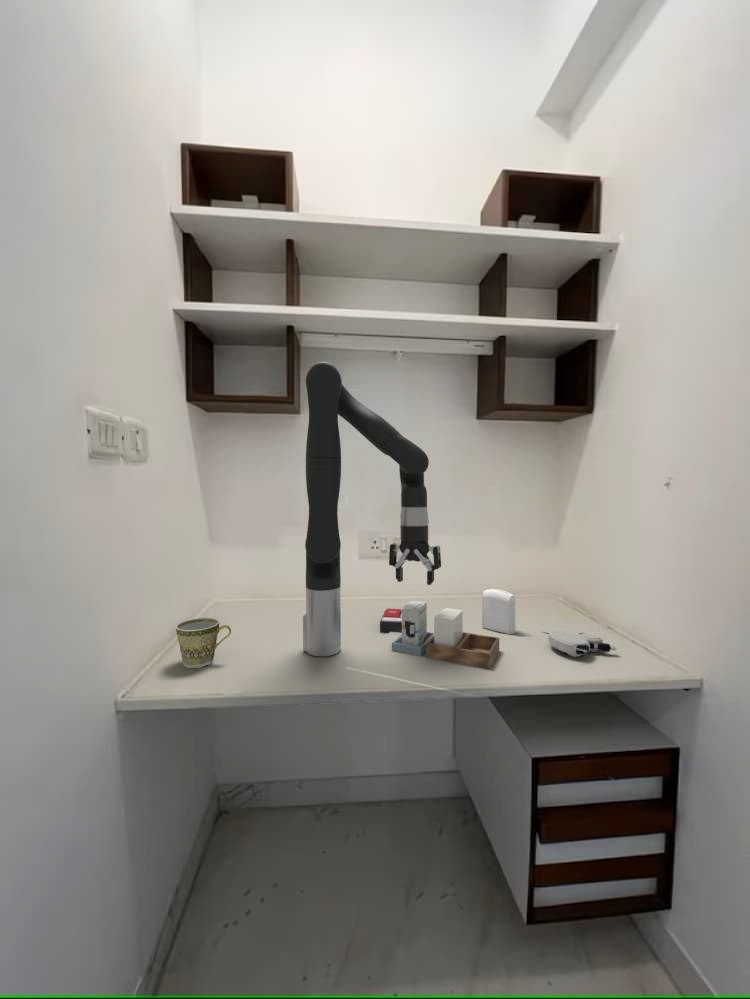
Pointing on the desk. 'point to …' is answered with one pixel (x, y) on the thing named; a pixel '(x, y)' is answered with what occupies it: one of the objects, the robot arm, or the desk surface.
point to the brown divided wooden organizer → (467, 650)
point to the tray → (410, 649)
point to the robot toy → (577, 643)
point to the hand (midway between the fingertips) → (414, 582)
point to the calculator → (391, 621)
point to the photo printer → (498, 611)
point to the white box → (448, 627)
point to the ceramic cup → (198, 640)
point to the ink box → (414, 623)
